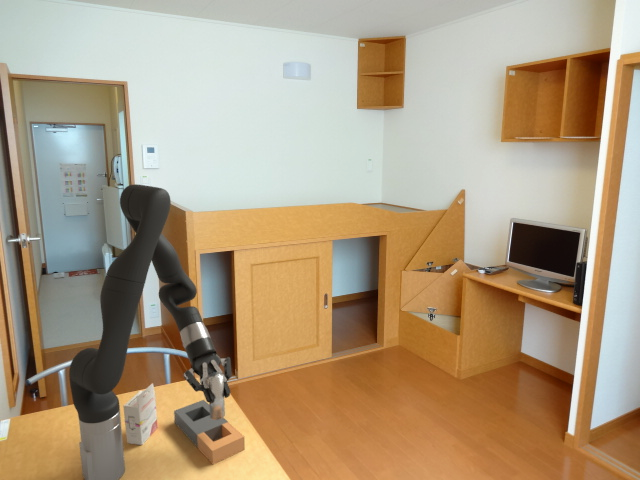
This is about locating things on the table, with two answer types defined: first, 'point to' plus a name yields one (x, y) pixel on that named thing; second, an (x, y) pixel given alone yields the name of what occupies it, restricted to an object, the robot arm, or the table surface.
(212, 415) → the silver metal cylinder
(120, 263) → the robot arm
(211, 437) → the socket block
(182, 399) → the table surface
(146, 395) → the ink cartridge box
